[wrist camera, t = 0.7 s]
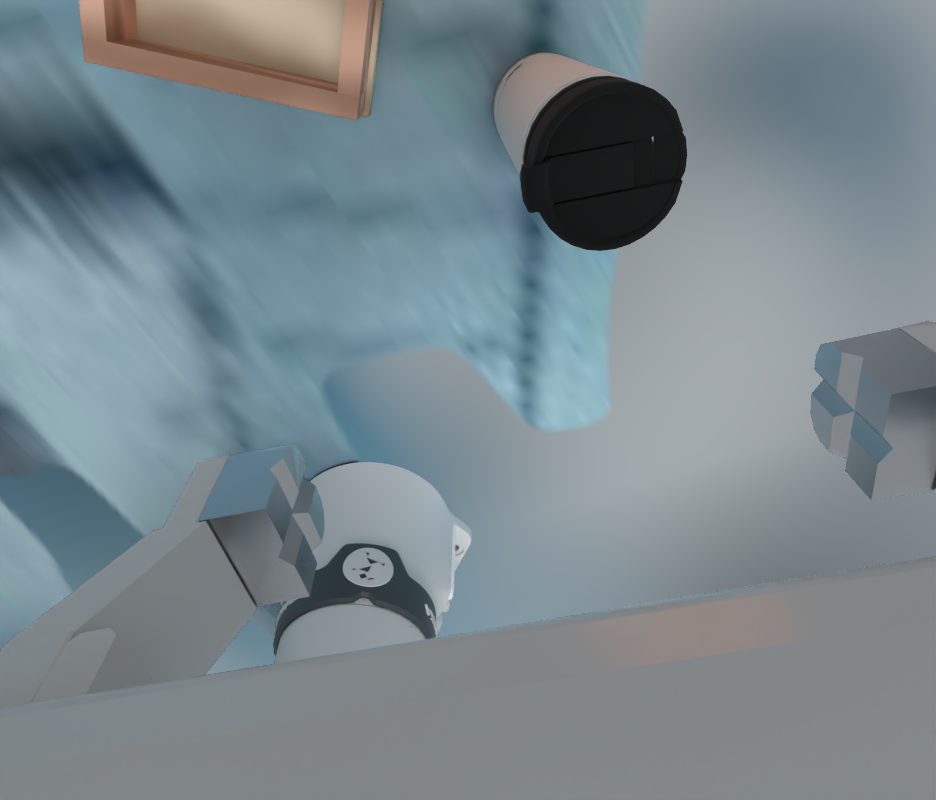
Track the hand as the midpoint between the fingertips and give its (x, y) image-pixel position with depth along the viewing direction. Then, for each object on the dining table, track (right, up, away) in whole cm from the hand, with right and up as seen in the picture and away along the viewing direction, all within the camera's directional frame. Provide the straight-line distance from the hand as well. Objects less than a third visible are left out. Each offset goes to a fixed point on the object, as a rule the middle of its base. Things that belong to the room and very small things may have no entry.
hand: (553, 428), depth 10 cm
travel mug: (+3, +19, +31) cm, 36 cm away
